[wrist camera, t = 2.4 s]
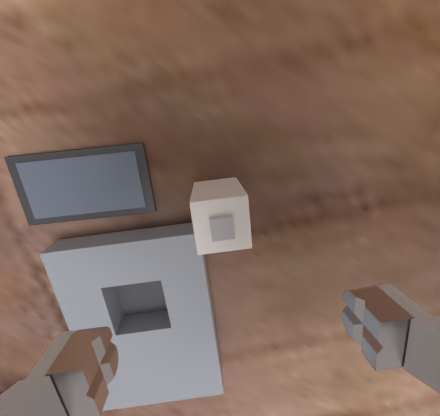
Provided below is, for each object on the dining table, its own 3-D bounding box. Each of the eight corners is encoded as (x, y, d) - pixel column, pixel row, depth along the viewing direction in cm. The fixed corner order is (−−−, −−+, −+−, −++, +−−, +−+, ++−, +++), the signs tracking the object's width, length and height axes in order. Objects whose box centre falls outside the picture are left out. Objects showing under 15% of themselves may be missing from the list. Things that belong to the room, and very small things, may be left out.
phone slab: (145, 142, 22) (142, 143, 21) (157, 208, 24) (155, 212, 23) (13, 156, 22) (3, 157, 21) (36, 221, 24) (28, 225, 23)
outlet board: (200, 221, 24) (199, 233, 21) (222, 368, 30) (223, 393, 27) (59, 239, 24) (39, 253, 21) (110, 384, 30) (100, 411, 27)
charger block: (235, 177, 23) (249, 197, 16) (239, 216, 24) (253, 252, 17) (194, 182, 23) (188, 205, 15) (200, 221, 24) (197, 259, 17)
